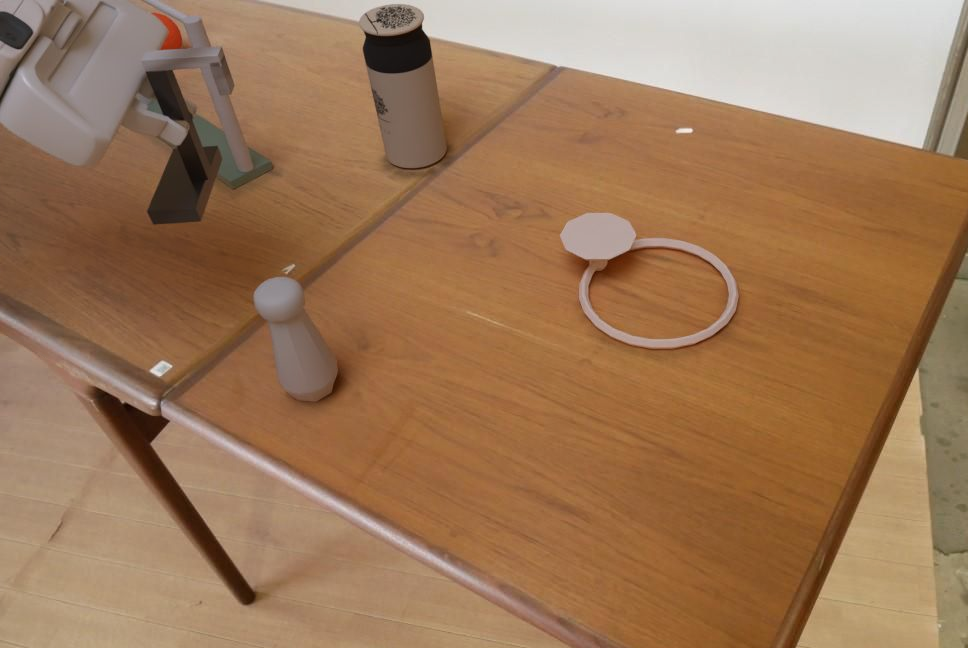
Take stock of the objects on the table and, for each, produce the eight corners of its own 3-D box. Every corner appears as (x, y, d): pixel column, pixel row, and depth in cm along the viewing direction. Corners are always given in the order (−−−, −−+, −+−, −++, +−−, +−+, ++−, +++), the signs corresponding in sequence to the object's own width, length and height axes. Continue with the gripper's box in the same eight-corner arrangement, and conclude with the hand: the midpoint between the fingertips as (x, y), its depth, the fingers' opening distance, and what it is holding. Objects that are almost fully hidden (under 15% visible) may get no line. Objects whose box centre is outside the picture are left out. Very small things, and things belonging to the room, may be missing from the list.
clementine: (141, 76, 128) (121, 30, 122) (132, 58, 132) (112, 13, 126) (193, 61, 130) (176, 16, 125) (183, 44, 134) (166, -1, 129)
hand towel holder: (683, 346, 79) (517, 262, 88) (680, 377, 82) (520, 293, 91) (773, 251, 87) (613, 184, 96) (767, 283, 90) (613, 215, 100)
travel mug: (441, 132, 114) (419, -2, 100) (452, 163, 108) (431, 26, 95) (382, 143, 112) (353, 8, 99) (390, 175, 107) (360, 38, 94)
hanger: (153, 225, 74) (87, 88, 65) (179, 162, 81) (123, 29, 72) (256, 217, 75) (207, 80, 65) (274, 155, 81) (231, 23, 72)
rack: (233, 189, 106) (171, 31, 91) (126, 116, 120) (57, -33, 105) (273, 168, 109) (219, 11, 94) (164, 99, 123) (102, -49, 108)
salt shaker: (315, 357, 86) (278, 257, 76) (355, 380, 83) (322, 280, 74) (271, 393, 82) (227, 294, 73) (312, 418, 80) (271, 319, 70)
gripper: (47, -3, 74) (197, 92, 82) (-49, 119, 60) (143, 219, 68) (75, -59, 71) (229, 45, 79) (-19, 55, 57) (179, 168, 65)
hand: (189, 127), depth 73 cm, fingers closed on hanger
